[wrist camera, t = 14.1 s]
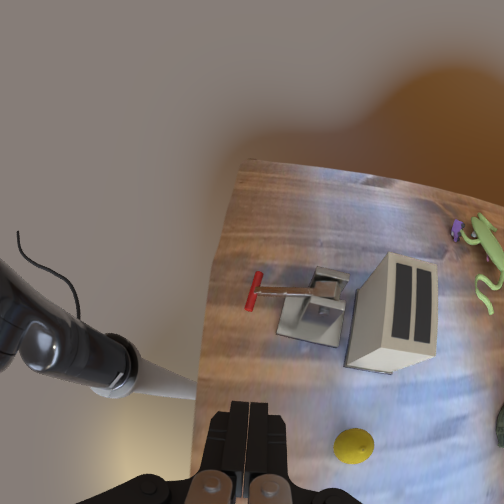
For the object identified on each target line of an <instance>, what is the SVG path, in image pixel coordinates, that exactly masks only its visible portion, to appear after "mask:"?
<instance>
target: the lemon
mask: <svg viewBox="0 0 504 504" xmlns="http://www.w3.org/2000/svg"><path fill="white" fill-rule="evenodd" d="M333 448H334V453H335V455H336V457H337V458H338V459H339V460H340V461H342V462H344V463H347V464H357V463H361V462H363V461H365V460H366V459H368V458H369V457H370V455H371V454H372V452H373V450H374V440H373V438H372V436H371V435H370V434H369V433H368V432H367V431H365V430H363V429H358V428H353V429H348V430H345V431H344V432H342V433H341V434H340V435H339V436H338V437H337V438H336V440H335V442H334V447H333Z"/></svg>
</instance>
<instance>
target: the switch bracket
mask: <svg viewBox="0 0 504 504" xmlns="http://www.w3.org/2000/svg"><path fill="white" fill-rule="evenodd" d="M349 277H350V274H348V273H344V272H340V271H335V270H331V269H327V268H323V267H319V266H317V267H316V270H315V272H314V275H313V277H312V279H311V282H310V284H309V286H308V288H315V285H316V281H337V283H338V285H339V287H340V289H341V292H342V290H343V289H344V287H345V286H346V284H347V283H348V281H349ZM345 305H346V301H344V300H339V301H335V300H331V299H326V298H322V297H318V296H314V295H311V296H310V298H294V297H285V301H284V305H283V309H282V313H281V317H280V321H279V325H278V328H277V332H276V335H280V336H284V337H288V338H292V339H297V340H301V341H305V342H310V343H314V344H319V345H323V346H328V347H333V348H337V347H338V345H339V340H340V335H341V329H342V323H343V317H344V311H345Z"/></svg>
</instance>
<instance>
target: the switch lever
mask: <svg viewBox="0 0 504 504" xmlns="http://www.w3.org/2000/svg"><path fill="white" fill-rule="evenodd" d="M262 278H263V273H262V272H260V271H256V273H255V276H254V279H253V282H252V286H251V289H250V292H249V295H248V298H247V302H246V305H245V308H244V309H245V310H246V311H250V312H252V311H253V308H254V305H255V301H256V298H257V296H270V297H294V298H310V296H311V295H314V296H318V297H322V298H326V299H331V300H335V301H339V300H340V293H341V289H340V287H339V285H338V283H337V281H316V285H315V288H297V287H260V284H261V281H262Z"/></svg>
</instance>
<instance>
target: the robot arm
mask: <svg viewBox="0 0 504 504" xmlns="http://www.w3.org/2000/svg"><path fill="white" fill-rule="evenodd" d="M17 242H18V248H19V251H20V253H21V254H22V256H23V257H24V258H25V259H26V260H27V261H29V262H30V263H32V264H33V265H35V266H36V267H38V268H41V269H43V270H46V271H48V272H50V273H52V274H54V275H55V276H57V277H59V278H60V279H62V280H64V281H65V282H66V283H67V284H68V285H69V287H70V289H71V291H72V292H73V295H74V299H75V303H76V309H77V318H75V317H74V316H73V315H71V314H70V313H68V312H66V311H65V310H64V309H62V308H60V307H59V306H57V305H56V304H54V303H53V302H51V301H50V300H48V299H47V298H46V297H44V296H43V295H42V294H40V293H39V292H38V291H36V290H35V289H34V288H33V287H32V286H31V285H29V284H28V283H27V282H26V281H25V280H24V279H23V278H22V277H21V276H20V275H18V274H17V273H16V272H15V271H14V270H13V269H12V268H11V267H10V266H9V265H7V264H6V263H5V262H4V261H3V260H1V259H0V373H1V372H3V371H5V370H6V369H7V368H8V367H9V366H10V364H11V363H12V361H13V359H14V357H15V355H16V353H17V351H18V350H19V353H20V356H21V358H22V359H23V361H24V362H25V364H26V365H27V366H28V367H29V368H30V369H31V370H33V371H34V372H37V373H39V374H42V375H46V376H50V377H53V378H57V379H61V380H65V381H69V382H73V383H77V384H81V385H86V386H90V387H95V388H99V389H102V390H107V391H113V390H117V389H119V388H121V387H122V386H123V385H124V384H125V383H126V382H127V381H128V379H129V377H130V374H131V369H132V362H131V358H130V355H129V353H128V351H127V349H126V348H125V347H124V346H123V345H122V344H121V343H119V342H117V341H115V340H113V339H111V338H109V337H107V336H106V335H104V334H102V333H100V332H99V331H97V330H95V329H94V328H92V327H90V326H89V325H87V324H86V323H84V322H82V321H81V320H80V305H79V300H78V297H77V294H76V291H75V289H74V287H73V285H72V284H71V283H70V281H69V280H68V279H67V278H65V277H64V276H62V275H60V274H58V273H56V272H55V271H53V270H51V269H50V268H47V267H45V266H42V265H39V264H37V263H36V262H34V261H32V260H31V259H30V258H28V257H27V256H26V255H25V254H24V253H23V251H22V249H21V246H20V238H19V231H17ZM248 414H249V402H241V401H232V402H231V407H230V412H220V411H218V412H217V413H216V414H215V415H214V417H213V418H212V419H211V422H210V426H209V431H208V435H207V440H206V444H205V448H204V453H203V457H202V462H201V466H200V469H199V471H198V472H197V473H196V474H195V475H194V476H192V477H191V478H189V479H185V480H179V481H165V480H164V479H163V478H161V477H159V476H157V475H154V474H143V475H140V476H137V477H135V478H133V479H131V480H129V481H127V482H125V483H123V484H121V485H119V486H116V487H114V488H113V489H110V490H108V491H106V492H103V493H101V494H99V495H96V496H94V497H91V498H89V499H86V500H84V501H81V502H79V503H76V504H235V501H236V497H241V496H242V485H243V475H244V491H243V498H248V504H362V503H361V502H359V501H358V500H357V499H355V498H354V497H352V496H351V495H350V494H348V493H347V492H345V491H344V490H341V489H338V488H328V489H324V490H322V491H320V492H315V491H311V490H306V489H302V488H300V487H298V486H296V485H295V484H293V483H292V481H291V480H290V479H289V476H288V470H287V445H286V424H285V423H284V421H283V419H282V418H281V416H280V415H268V403H257V402H251V404H250V415H249V427H248ZM247 430H248V439H247ZM246 442H247V450H246ZM245 453H246V461H245ZM244 464H245V473H244Z"/></svg>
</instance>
